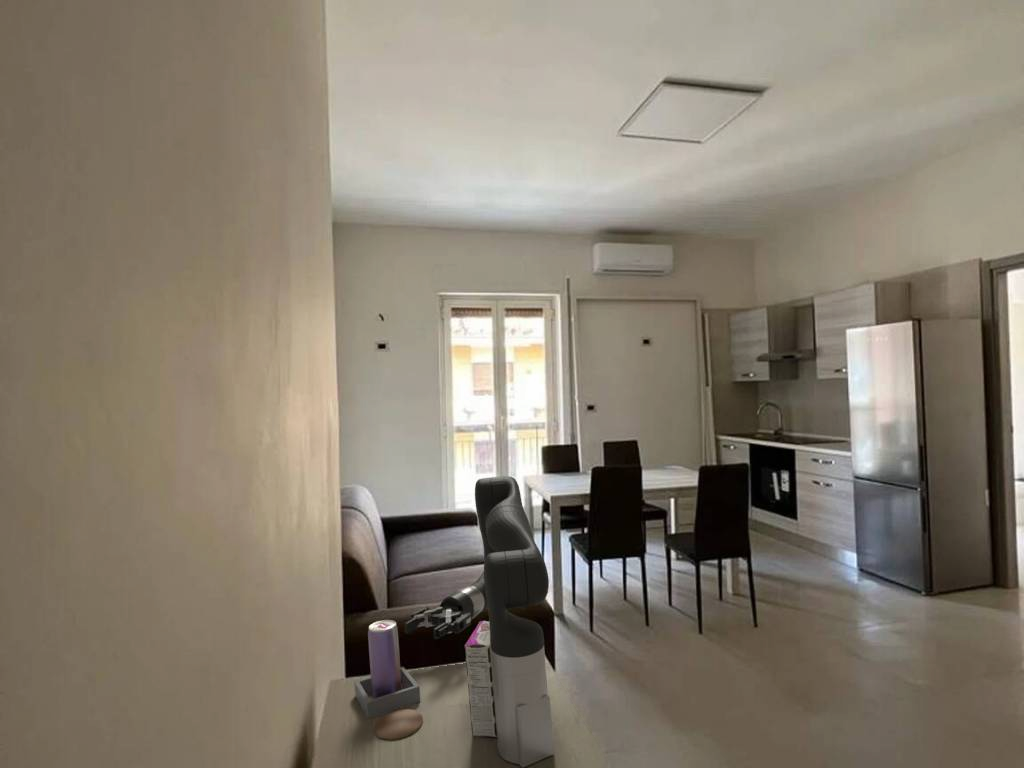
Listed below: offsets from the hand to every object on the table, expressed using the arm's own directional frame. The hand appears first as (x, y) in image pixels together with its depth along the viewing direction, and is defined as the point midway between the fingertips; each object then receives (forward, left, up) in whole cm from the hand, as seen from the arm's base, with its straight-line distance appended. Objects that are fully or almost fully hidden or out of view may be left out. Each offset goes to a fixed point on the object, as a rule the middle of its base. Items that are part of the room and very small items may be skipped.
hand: (419, 631), depth 126 cm
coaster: (-17, +11, -9) cm, 22 cm away
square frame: (-6, +10, -9) cm, 15 cm away
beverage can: (-6, +10, -10) cm, 15 cm away
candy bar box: (-26, -4, -10) cm, 28 cm away
